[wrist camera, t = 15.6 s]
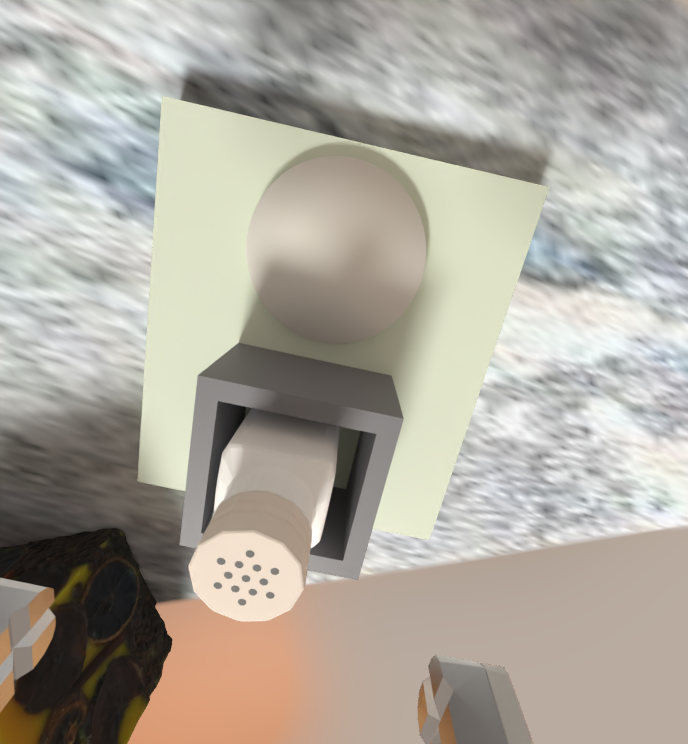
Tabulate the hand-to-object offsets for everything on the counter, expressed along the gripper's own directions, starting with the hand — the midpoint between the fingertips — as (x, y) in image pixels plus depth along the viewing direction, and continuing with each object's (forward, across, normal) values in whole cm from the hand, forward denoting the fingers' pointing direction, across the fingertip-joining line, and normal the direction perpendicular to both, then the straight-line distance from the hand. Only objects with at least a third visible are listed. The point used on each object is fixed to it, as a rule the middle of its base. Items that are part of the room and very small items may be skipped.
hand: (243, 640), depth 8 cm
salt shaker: (+12, 0, +1) cm, 12 cm away
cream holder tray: (+13, 0, -3) cm, 14 cm away
